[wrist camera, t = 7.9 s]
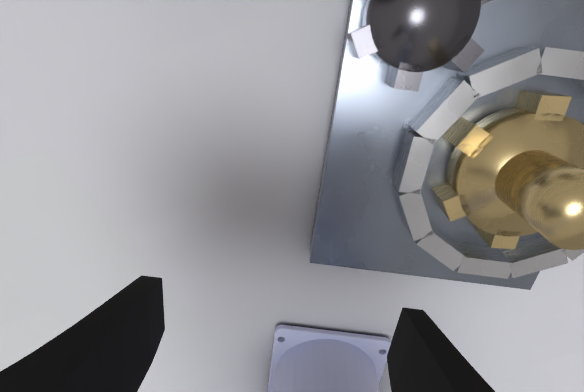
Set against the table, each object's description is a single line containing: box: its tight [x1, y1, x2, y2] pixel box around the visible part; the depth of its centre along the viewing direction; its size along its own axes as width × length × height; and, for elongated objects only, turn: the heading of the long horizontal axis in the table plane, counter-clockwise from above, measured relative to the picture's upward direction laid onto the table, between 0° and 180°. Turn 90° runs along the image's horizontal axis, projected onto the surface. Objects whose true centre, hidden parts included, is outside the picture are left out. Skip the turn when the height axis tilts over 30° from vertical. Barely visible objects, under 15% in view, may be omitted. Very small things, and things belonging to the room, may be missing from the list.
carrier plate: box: [310, 0, 584, 290], centre depth 16 cm, size 16×15×3 cm
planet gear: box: [432, 90, 584, 250], centre depth 15 cm, size 7×7×5 cm
